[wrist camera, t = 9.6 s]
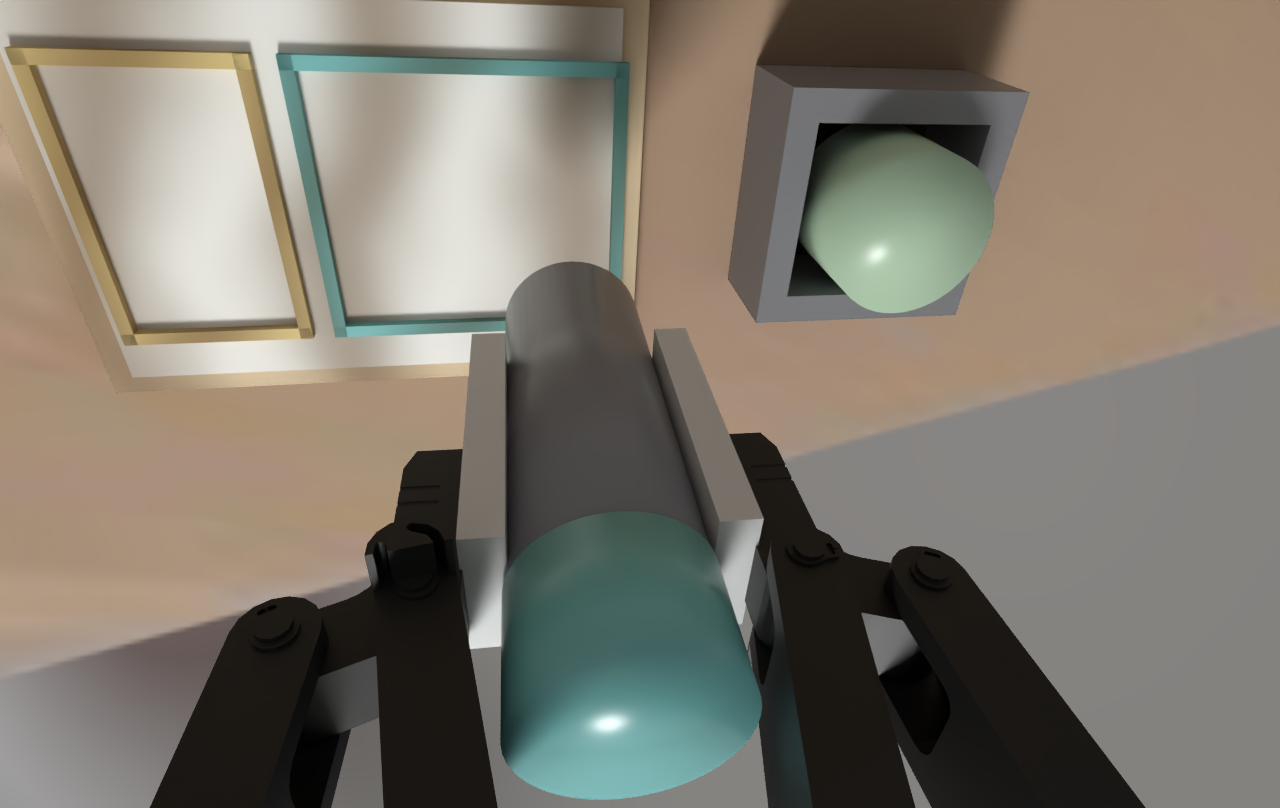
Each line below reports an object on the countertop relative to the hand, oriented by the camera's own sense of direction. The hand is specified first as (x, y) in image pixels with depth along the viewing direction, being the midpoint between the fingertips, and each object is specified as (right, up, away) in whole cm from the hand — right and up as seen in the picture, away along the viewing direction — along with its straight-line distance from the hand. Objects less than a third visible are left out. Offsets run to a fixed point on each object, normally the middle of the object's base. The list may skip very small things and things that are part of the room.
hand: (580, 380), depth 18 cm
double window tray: (-8, +6, +6) cm, 11 cm away
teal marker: (0, +2, +2) cm, 3 cm away
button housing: (+9, +8, +8) cm, 14 cm away
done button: (+9, +7, +7) cm, 13 cm away
